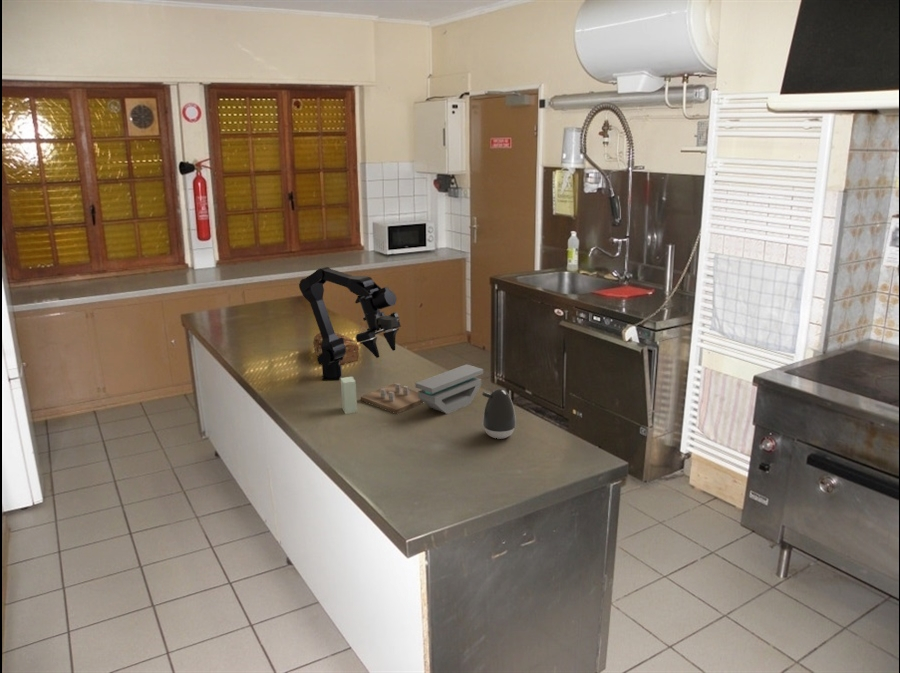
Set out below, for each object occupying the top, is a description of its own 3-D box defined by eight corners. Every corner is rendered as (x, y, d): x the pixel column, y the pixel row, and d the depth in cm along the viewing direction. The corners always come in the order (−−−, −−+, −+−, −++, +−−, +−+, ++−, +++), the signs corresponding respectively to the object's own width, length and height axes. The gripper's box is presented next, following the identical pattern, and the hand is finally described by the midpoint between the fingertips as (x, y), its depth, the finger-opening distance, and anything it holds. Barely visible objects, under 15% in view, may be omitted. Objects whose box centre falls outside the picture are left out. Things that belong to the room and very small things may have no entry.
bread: (313, 355, 289) (311, 332, 286) (335, 350, 296) (333, 327, 293) (338, 366, 275) (337, 342, 273) (360, 360, 282) (359, 337, 279)
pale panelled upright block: (353, 406, 237) (352, 375, 233) (357, 412, 232) (355, 381, 228) (342, 407, 235) (340, 377, 232) (345, 413, 230) (343, 383, 227)
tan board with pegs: (396, 414, 230) (396, 401, 229) (360, 400, 241) (360, 388, 240) (429, 400, 241) (429, 387, 240) (393, 387, 253) (393, 376, 251)
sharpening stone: (432, 420, 225) (432, 388, 222) (416, 413, 230) (415, 383, 227) (483, 398, 242) (483, 369, 239) (466, 393, 248) (466, 364, 244)
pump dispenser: (479, 429, 218) (480, 383, 214) (512, 427, 219) (513, 382, 215) (484, 443, 209) (484, 396, 204) (518, 441, 209) (519, 394, 205)
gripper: (371, 312, 232) (386, 357, 233) (404, 301, 247) (418, 342, 248) (348, 320, 238) (363, 362, 240) (382, 308, 254) (395, 348, 255)
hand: (386, 353), depth 246 cm, fingers open, 9 cm apart
